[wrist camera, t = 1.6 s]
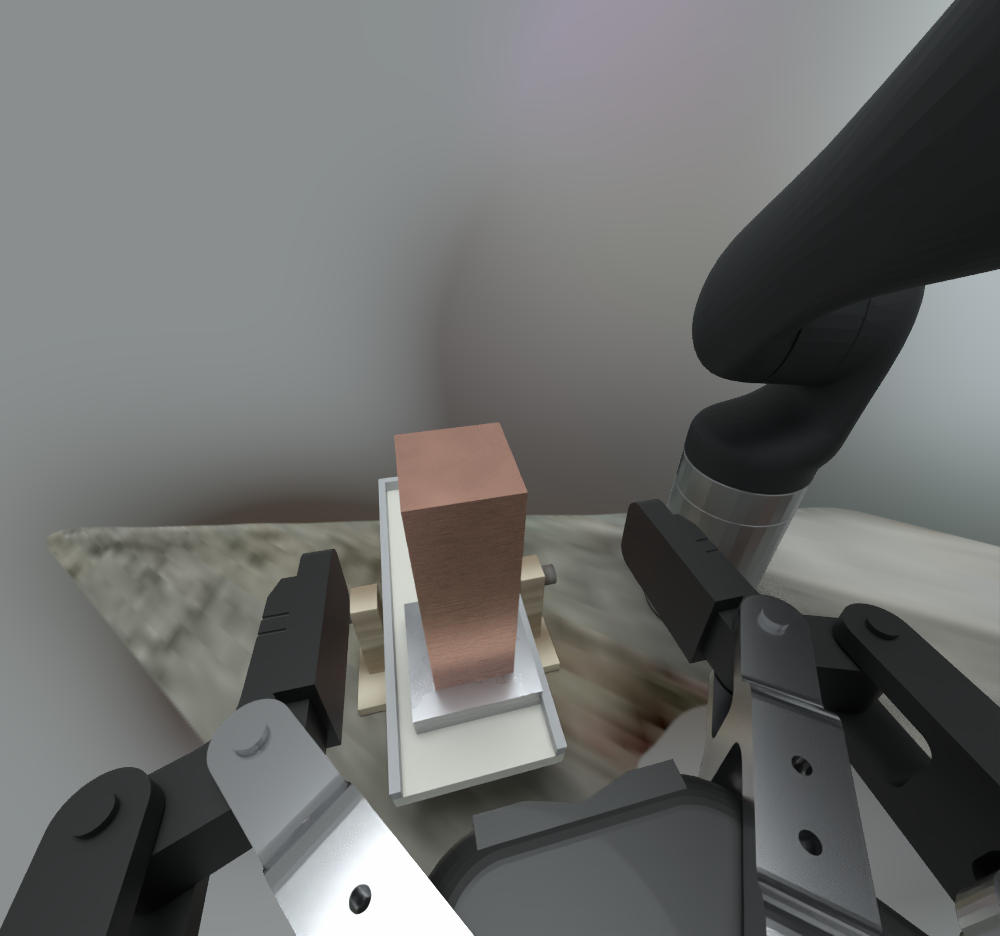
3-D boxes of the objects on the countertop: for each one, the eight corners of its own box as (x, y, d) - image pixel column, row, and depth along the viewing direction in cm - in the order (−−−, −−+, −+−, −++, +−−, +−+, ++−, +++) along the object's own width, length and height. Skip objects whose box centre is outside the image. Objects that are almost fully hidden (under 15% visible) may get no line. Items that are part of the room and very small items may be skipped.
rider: (540, 703, 28) (576, 513, 17) (416, 734, 27) (359, 549, 15) (510, 598, 34) (520, 402, 22) (407, 618, 33) (360, 420, 21)
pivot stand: (562, 668, 38) (571, 601, 33) (356, 716, 35) (329, 651, 30) (535, 596, 45) (539, 529, 39) (359, 631, 42) (337, 564, 36)
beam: (562, 761, 27) (567, 746, 25) (396, 807, 25) (389, 794, 24) (480, 485, 46) (480, 465, 45) (383, 499, 44) (378, 479, 43)
